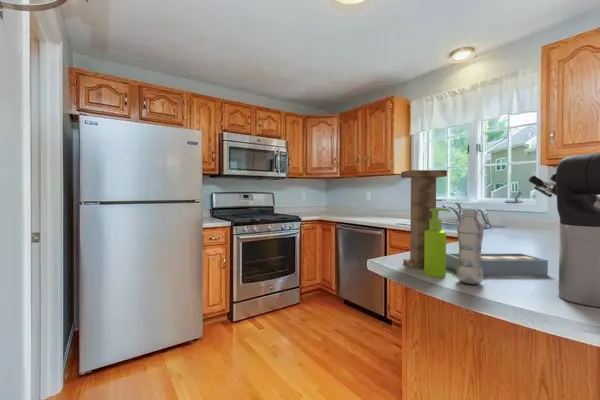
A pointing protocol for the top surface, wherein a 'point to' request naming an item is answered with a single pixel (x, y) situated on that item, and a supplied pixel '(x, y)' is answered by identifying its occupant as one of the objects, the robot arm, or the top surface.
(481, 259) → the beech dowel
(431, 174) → the walnut stand
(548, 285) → the top surface
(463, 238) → the plastic bottle
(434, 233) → the soap dispenser
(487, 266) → the slate tray
